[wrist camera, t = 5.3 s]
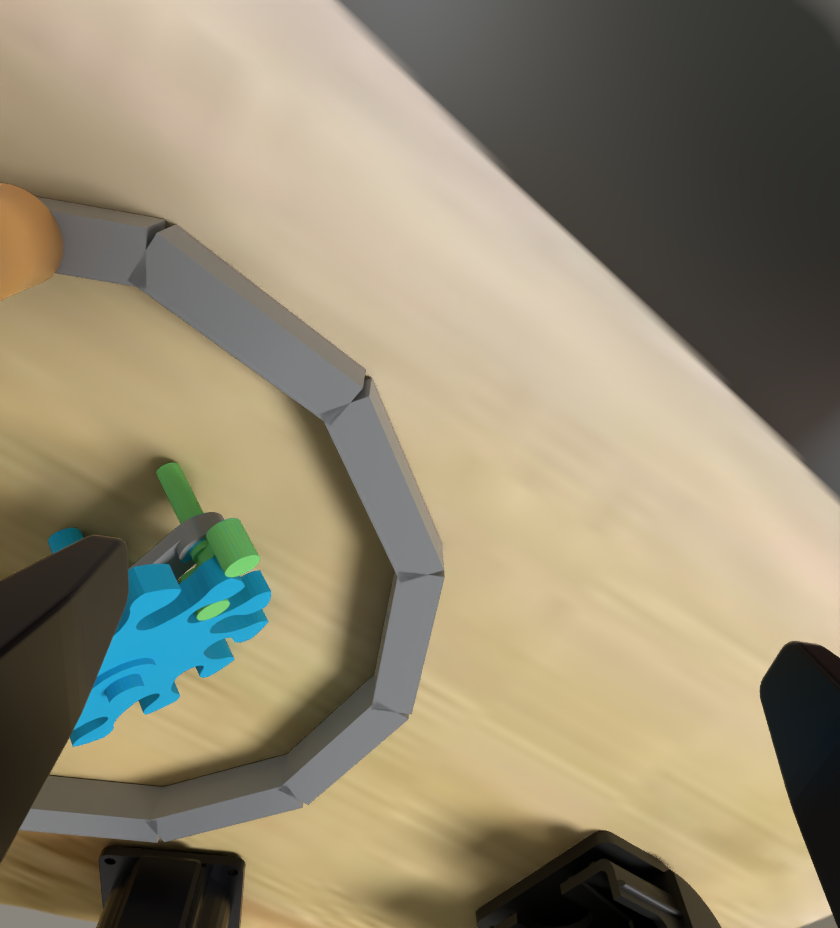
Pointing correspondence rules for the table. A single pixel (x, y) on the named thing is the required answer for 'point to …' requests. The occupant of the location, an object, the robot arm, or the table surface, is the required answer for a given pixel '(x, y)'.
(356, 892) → the table surface
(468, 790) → the table surface
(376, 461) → the ring
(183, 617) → the blue spiky figure
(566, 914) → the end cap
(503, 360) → the table surface
